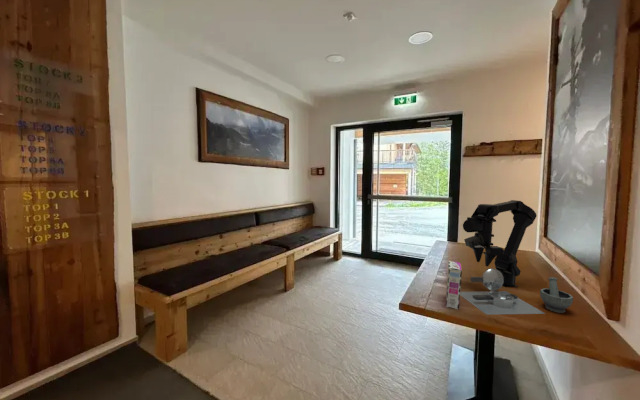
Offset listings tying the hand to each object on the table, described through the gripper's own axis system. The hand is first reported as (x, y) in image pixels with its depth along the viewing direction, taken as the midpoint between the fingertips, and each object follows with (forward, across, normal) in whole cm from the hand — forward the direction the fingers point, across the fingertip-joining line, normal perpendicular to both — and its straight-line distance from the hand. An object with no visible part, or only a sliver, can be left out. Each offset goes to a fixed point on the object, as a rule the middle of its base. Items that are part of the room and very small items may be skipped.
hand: (482, 264), depth 125 cm
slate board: (+12, +14, -2) cm, 19 cm away
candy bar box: (+12, +14, -22) cm, 29 cm away
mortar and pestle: (+12, +20, +17) cm, 29 cm away
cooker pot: (+12, +15, -4) cm, 19 cm away
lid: (+3, +10, -4) cm, 12 cm away
